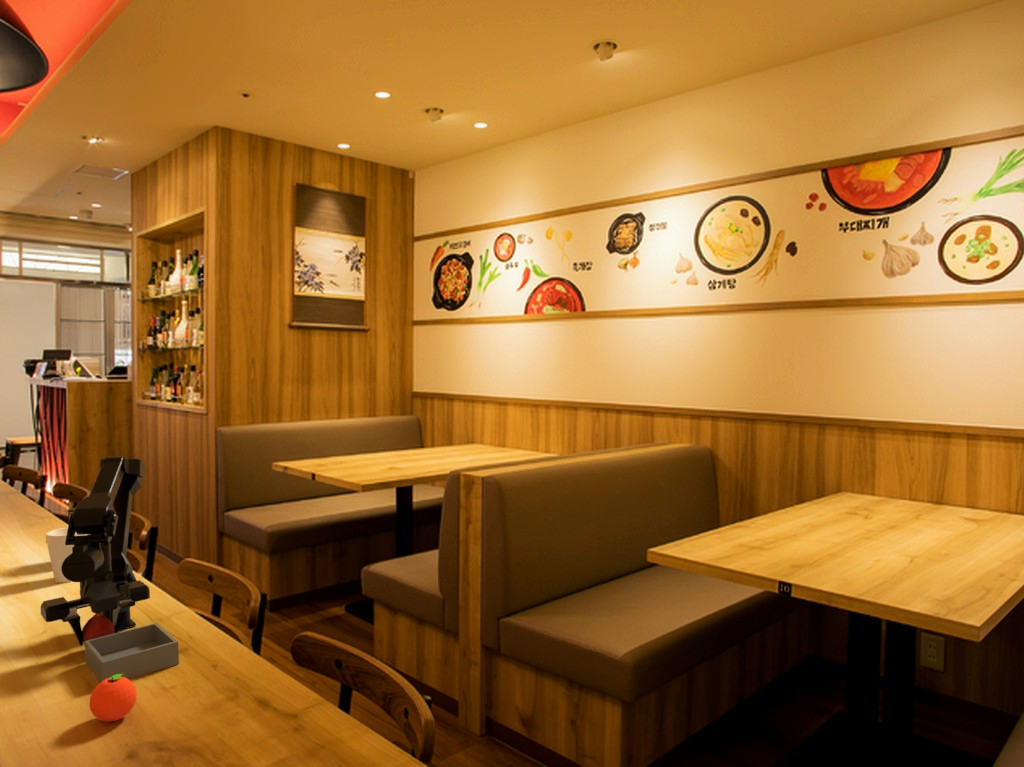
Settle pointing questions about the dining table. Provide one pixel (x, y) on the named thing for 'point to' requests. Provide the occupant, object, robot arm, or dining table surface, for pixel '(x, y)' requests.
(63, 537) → the foam cup
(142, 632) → the bin
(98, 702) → the clementine
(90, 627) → the onion
